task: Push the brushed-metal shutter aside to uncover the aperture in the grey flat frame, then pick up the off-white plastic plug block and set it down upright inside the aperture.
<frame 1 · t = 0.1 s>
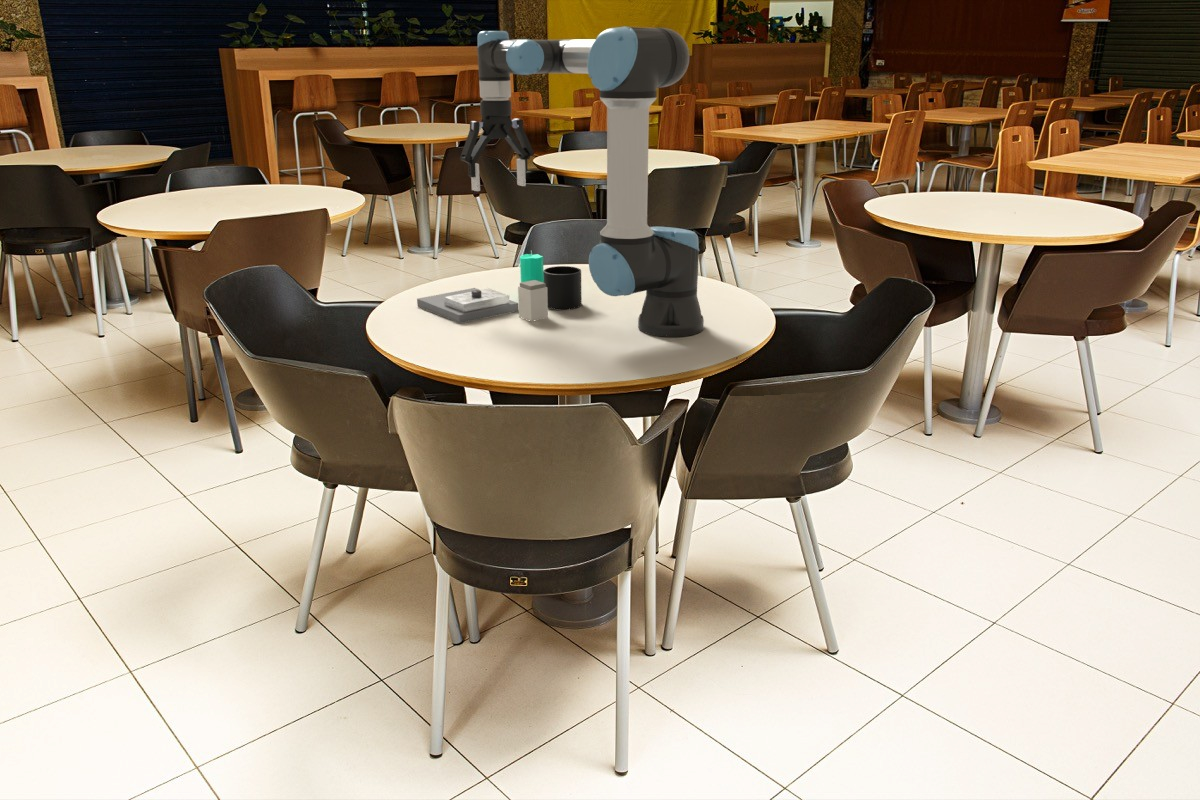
hand: (499, 188, 233), 28 cm above the table, fingers open, 13 cm apart
shutter: (476, 297, 227), point 4 cm above the table, slide at 0.0 cm
mug: (563, 304, 236), on the table
grey flat frame: (467, 308, 232), on the table
plug: (533, 317, 224), on the table
candle: (532, 296, 244), on the table
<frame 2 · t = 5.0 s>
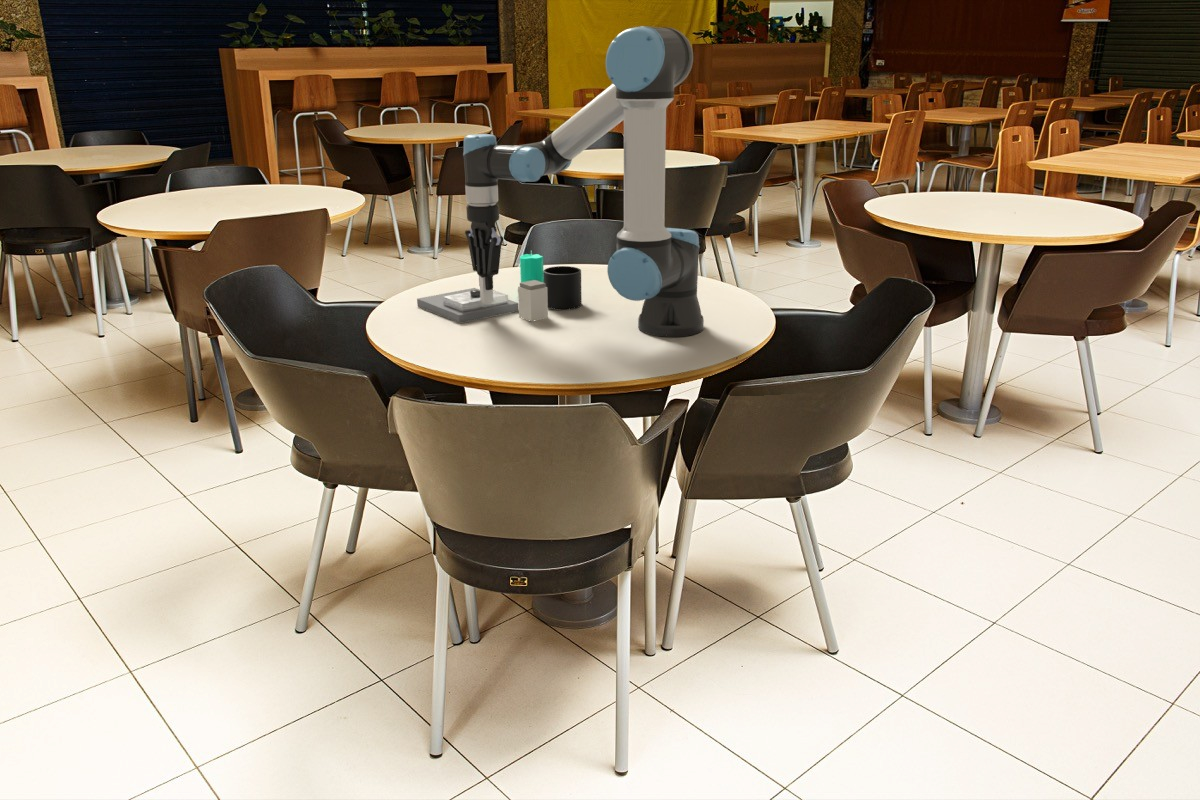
hand: (486, 302, 224), 4 cm above the table, fingers closed
shutter: (475, 297, 227), point 4 cm above the table, slide at 0.6 cm, touching gripper
everything else where it was.
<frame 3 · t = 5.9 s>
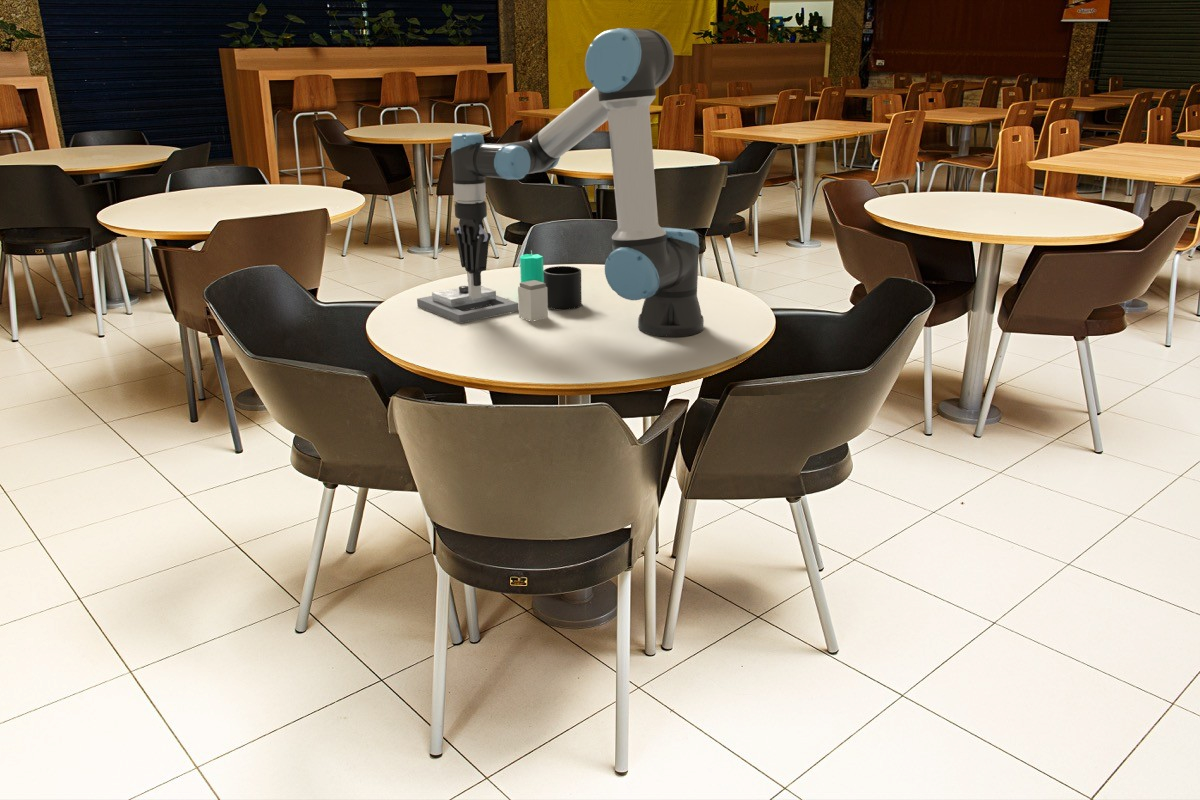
hand: (475, 297, 227), 4 cm above the table, fingers closed
shutter: (464, 293, 231), point 4 cm above the table, slide at 5.8 cm, touching gripper
everything else where it was.
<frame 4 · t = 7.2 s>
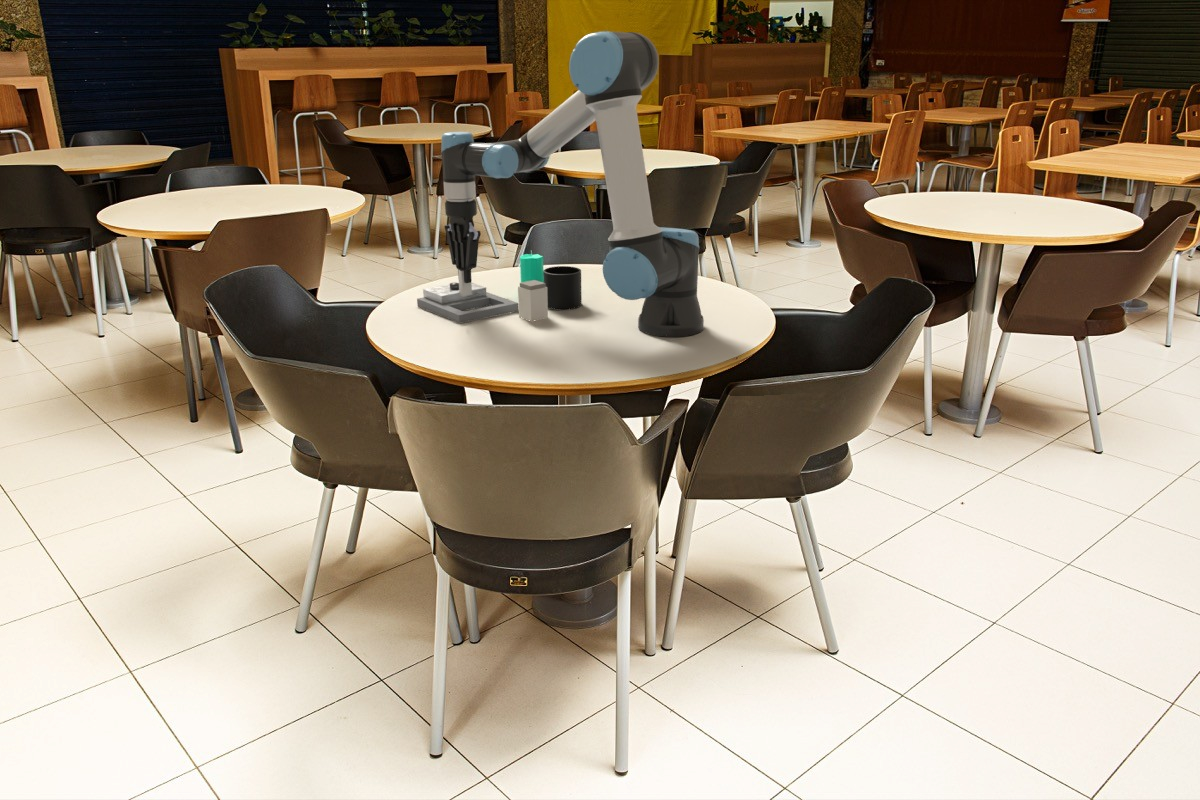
hand: (465, 294, 231), 3 cm above the table, fingers closed
shutter: (454, 289, 234), point 4 cm above the table, slide at 10.2 cm, touching gripper
everything else where it was.
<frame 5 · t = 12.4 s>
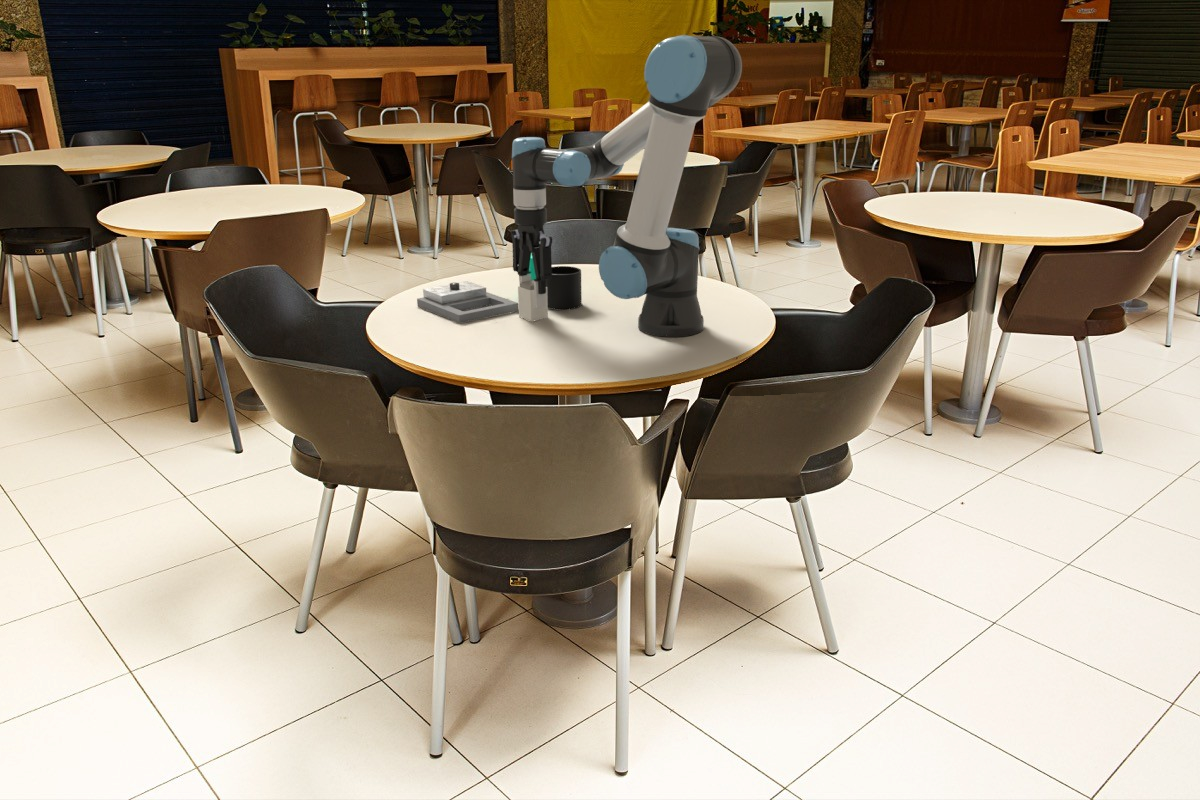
hand: (533, 304, 223), 3 cm above the table, fingers closed on plug, 5 cm apart
shutter: (454, 289, 234), point 4 cm above the table, slide at 10.2 cm
plug: (533, 317, 224), on the table, touching gripper
everything else where it was.
when the fingers open (4 cm above the table, at t = 18.1 s): plug drops 1 cm, resting in grey flat frame.
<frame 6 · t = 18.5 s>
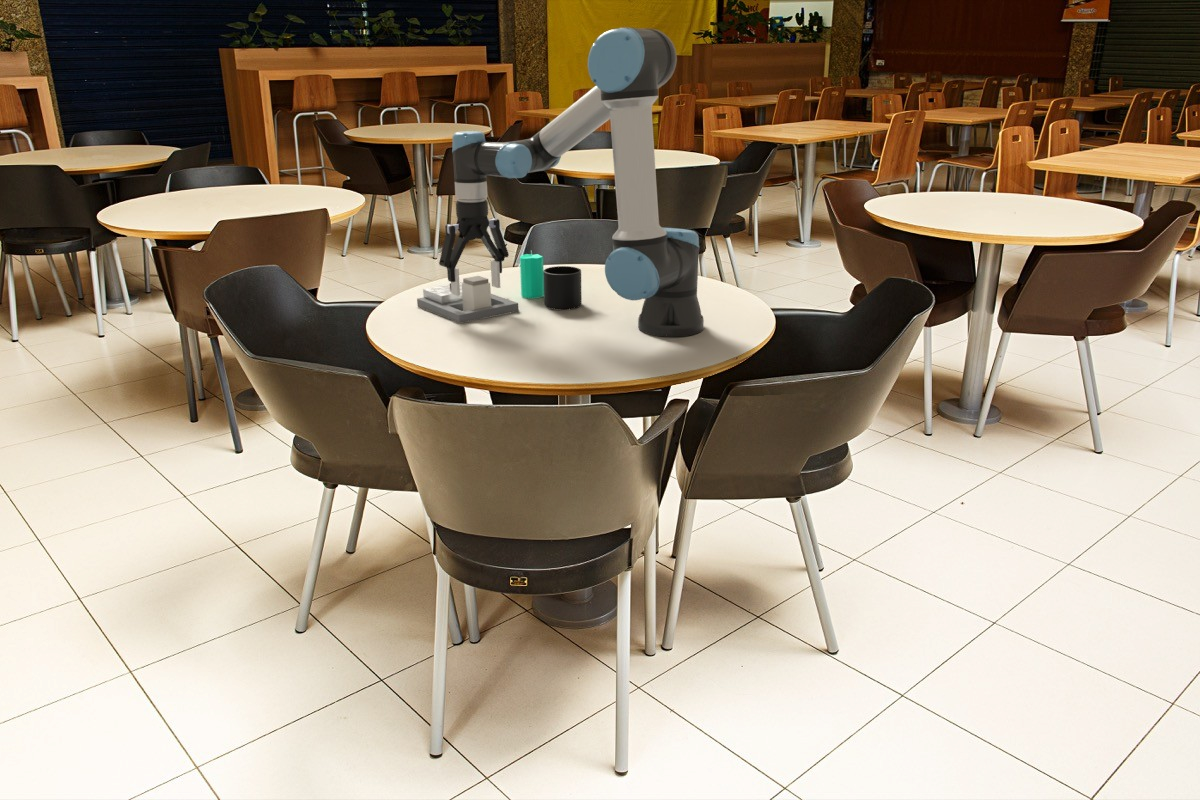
hand: (476, 290, 226), 5 cm above the table, fingers open, 11 cm apart
plug: (477, 312, 228), resting in grey flat frame
everything else where it was.
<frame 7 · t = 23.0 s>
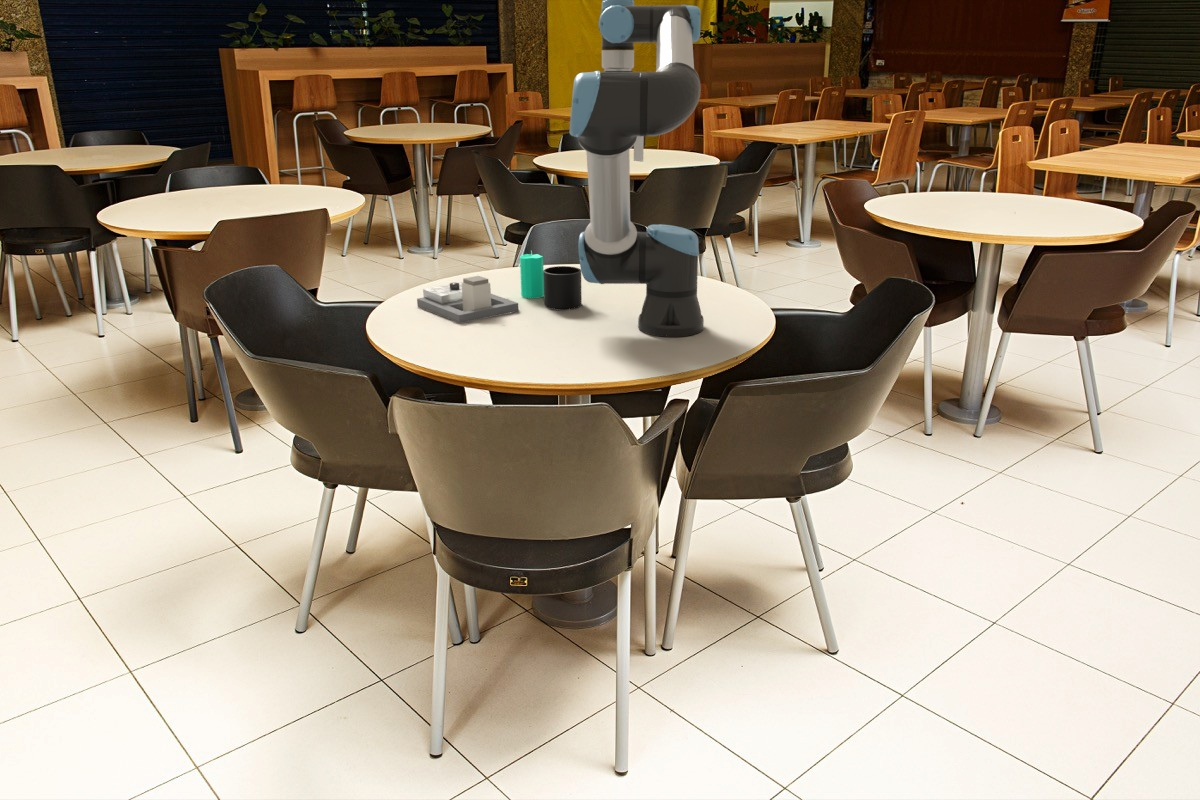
hand: (617, 163, 224), 35 cm above the table, fingers open, 13 cm apart
nothing on the table moved.
at the end: plug inside the target area on the grey flat frame (0.0 cm from its centre), point 0.0 cm above the grey flat frame's base; plug tilted 0°; shutter slide at 10.2 cm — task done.
